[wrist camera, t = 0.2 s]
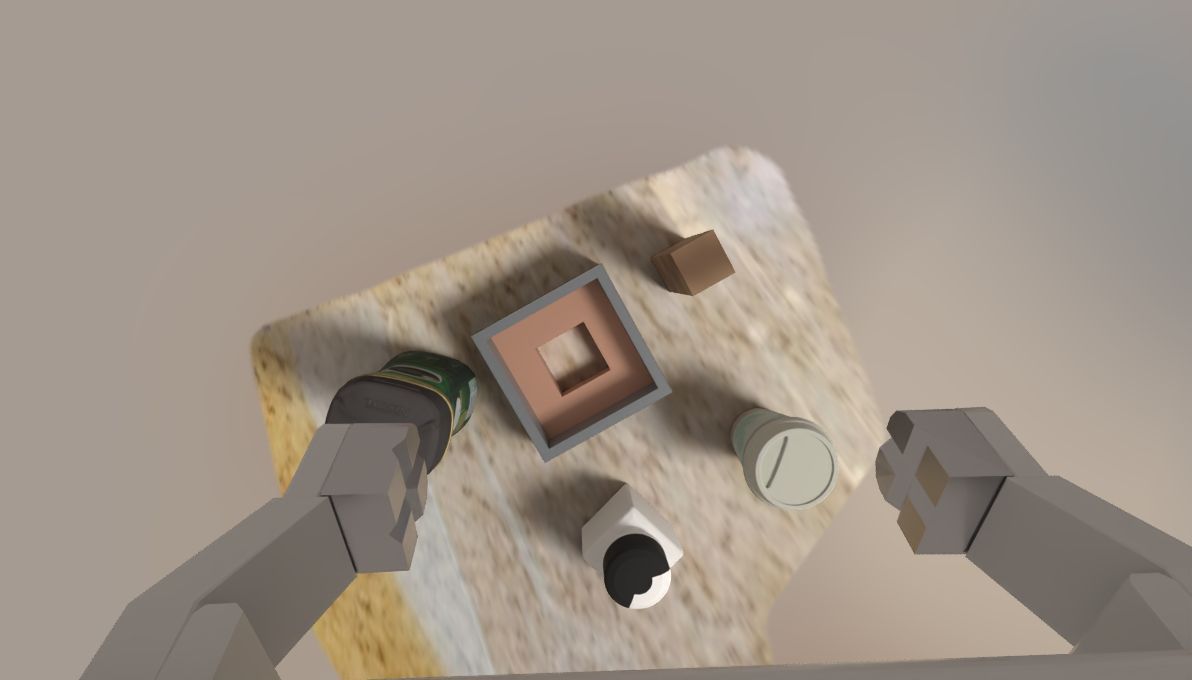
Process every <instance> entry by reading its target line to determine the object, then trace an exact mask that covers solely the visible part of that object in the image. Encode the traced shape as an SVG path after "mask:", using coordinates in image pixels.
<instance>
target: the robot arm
mask: <svg viewBox="0 0 1192 680" xmlns="http://www.w3.org/2000/svg"><path fill="white" fill-rule="evenodd" d="M887 430H888V432H889V433H890V435H891V437H892V438H891V439H889V440H888V441H887V442H886V443H884V444H883V445H882V446H881V447H880V448H879V452H878V455H877V458H876V478H877V482H878V485H879V489H880V491H881V493H882V494H883V497H884V499H885V500H886V501H887V502H888V503H890V504H891V505H892V506H894V507H895V508H897V509H898V510H900V513H899V517H898V520H897V523H898V525H899V526H900V528H901V530H902V532H903V534H904V535H905V537H906V539H907V541H908V543H909V545H910V547H911V548H912V550H913V552H914V554H966V557H967V558H968V559H969V560H970V561H971V562H973V563H974V564H975V565H976V566H978V567H979V568H980V569H981V570H982V571H984V572H985V573H986V574H987V575H988V576H989V577H991V578H992V579H993V580H994V581H996V582H997V583H998V584H999V585H1000V586H1002V587H1003V588H1004V589H1005V590H1006V591H1008V592H1009V593H1010V594H1011V595H1012V596H1014V597H1015V598H1016V599H1017V600H1018V601H1020V602H1021V603H1022V604H1023V605H1024V606H1026V607H1027V608H1028V609H1029V610H1030V611H1032V612H1033V613H1034V614H1035V615H1037V616H1038V617H1039V618H1040V619H1041V620H1043V621H1044V622H1045V623H1046V624H1047V625H1049V626H1050V627H1051V628H1052V629H1053V630H1055V631H1056V632H1057V633H1058V634H1060V635H1061V636H1062V637H1063V638H1064V639H1066V640H1067V641H1068V642H1069V643H1070V644H1072V645H1073V646H1074V648H1073V649H1072V650H1071V652H1070V653H1069V654H1060V655H1059V654H1057V655H1030V656H1004V657H977V658H948V659H922V660H895V661H866V662H838V663H812V664H785V665H758V666H732V667H705V668H678V669H650V670H621V671H593V672H564V673H536V674H508V675H479V676H451V677H424V678H397V679H369V680H1192V547H1191V546H1189V545H1187V544H1185V543H1183V542H1181V541H1179V540H1178V539H1176V538H1174V537H1172V536H1170V535H1168V534H1166V533H1164V532H1163V531H1161V530H1159V529H1157V528H1155V527H1153V526H1151V525H1149V524H1147V523H1146V522H1144V521H1142V520H1140V519H1138V518H1136V517H1135V516H1133V515H1131V514H1129V513H1127V512H1125V511H1123V510H1122V509H1120V508H1118V507H1116V506H1114V505H1112V504H1110V503H1108V502H1106V501H1105V500H1102V499H1101V498H1099V497H1097V496H1095V495H1093V494H1091V493H1090V492H1088V491H1086V490H1084V489H1082V488H1080V487H1078V486H1076V485H1075V484H1073V483H1071V482H1069V481H1067V480H1065V479H1063V478H1061V477H1060V476H1049V475H1048V474H1047V473H1046V472H1045V471H1044V470H1043V468H1042V467H1041V466H1040V465H1039V464H1038V463H1037V461H1036V460H1035V459H1034V458H1033V457H1032V456H1031V455H1030V453H1029V452H1028V451H1027V450H1026V449H1025V448H1024V446H1023V445H1022V444H1021V443H1020V442H1019V441H1018V439H1017V438H1016V437H1015V436H1014V435H1013V434H1012V432H1011V431H1010V430H1009V429H1008V428H1007V427H1006V425H1005V424H1004V423H1003V422H1002V421H1001V420H1000V418H999V417H998V416H997V415H996V414H995V413H994V412H993V411H992V410H990V409H988V408H986V407H975V408H955V409H933V410H903V411H896V412H895V413H894V414H893V415H892V416H891V417H890V420H889V423H888V425H887ZM419 443H420V437H419V434H418V430H417V426H416V425H414V424H413V423H354V424H323V425H322V426H321V427H319V428H318V429H317V430H316V432H315V434H314V436H313V438H312V440H311V442H310V444H309V447H308V449H307V451H306V453H305V455H304V457H303V459H302V461H301V463H300V465H299V467H298V469H297V471H296V473H295V475H294V477H293V479H292V481H291V483H290V485H289V487H288V489H287V491H286V493H285V495H284V497H283V498H273V499H272V500H271V501H269V502H268V503H266V504H265V505H264V506H262V507H261V508H260V509H258V510H257V511H256V512H254V513H253V514H251V515H250V516H248V517H247V518H246V519H244V520H243V521H242V522H240V523H239V524H238V525H236V526H235V527H233V528H232V529H231V530H229V531H228V532H227V533H225V534H224V535H222V536H221V537H220V538H218V539H217V540H215V541H214V542H213V543H211V544H210V545H209V546H207V547H206V548H204V549H203V550H202V551H200V552H199V553H198V554H196V555H195V556H193V557H192V558H191V559H189V560H188V561H186V562H185V563H184V564H182V565H181V566H180V567H178V568H177V569H175V570H174V571H173V572H171V573H170V574H169V575H167V576H166V577H164V578H163V579H162V580H160V581H159V582H158V583H156V584H155V585H154V586H152V587H151V588H149V589H148V590H147V591H145V592H144V593H143V594H141V595H140V596H138V597H137V598H135V599H134V600H133V601H131V602H130V603H129V604H128V605H127V606H126V608H125V610H124V611H123V613H122V614H121V616H120V617H119V619H118V620H117V622H116V623H115V625H114V627H113V628H112V630H111V631H110V633H109V634H108V636H107V637H106V639H105V641H104V642H103V644H102V645H101V647H100V648H99V650H98V651H97V653H96V654H95V656H94V658H93V659H92V661H91V662H90V664H89V665H88V667H87V668H86V670H85V671H84V673H83V675H82V676H81V678H80V679H79V680H281V679H280V677H279V675H278V674H277V672H276V670H275V667H276V666H277V665H278V664H279V662H280V661H281V660H282V659H283V658H284V657H285V656H286V655H287V653H288V652H289V651H290V650H291V649H292V648H293V647H294V646H295V645H296V644H297V642H298V641H299V640H300V639H301V638H302V637H303V636H304V634H306V632H307V631H308V630H309V629H310V628H311V627H312V626H313V625H314V624H315V622H316V621H317V620H318V619H319V618H320V617H321V616H322V615H323V613H324V612H325V611H326V610H327V609H328V608H329V607H330V606H331V605H332V603H333V602H334V601H335V600H336V599H337V598H338V597H339V596H340V595H341V593H342V592H343V591H344V590H345V589H346V588H347V587H348V586H349V585H350V583H351V582H352V581H353V580H354V579H355V578H356V574H357V573H374V572H391V571H408V570H410V566H411V562H412V558H413V554H414V550H415V546H416V542H417V538H418V535H417V531H416V526H415V522H416V521H417V520H418V519H419V518H420V517H421V516H422V515H423V513H424V509H425V504H426V499H427V486H428V481H427V469H426V464H425V460H424V459H423V458H422V457H421V456H420V455H418V454H417V451H418V447H419Z"/></svg>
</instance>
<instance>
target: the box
mask: <svg viewBox="0 0 1192 680" xmlns="http://www.w3.org/2000/svg"><path fill="white" fill-rule="evenodd" d="M582 322H584V323H585V325H586V327H587V329H588V330H589V332H590V334H591V336H592V337H593V339H594V341H595V343H596V345H597V346H598V348H599V350H600V352H601V354H602V355H603V357H604V359H605V361H606V362H607V364H608V366H609V367H607V368H606V369H604V370H602V371H600V372H598V373H597V374H595V375H593V376H591V377H589V378H588V379H586V380H584V381H582V382H580V383H579V384H577V385H575V386H573V387H571V388H570V389H568V390H566V391H564V392H562V390H561V389H560V387H559V385H558V383H557V382H556V380H555V378H554V376H553V375H552V373H551V371H550V369H549V368H548V366H547V364H546V362H545V361H544V359H543V357H542V356H541V354H540V352H539V350H538V349H537V347H539V346H541V345H543V344H544V343H546V342H548V341H550V340H552V339H553V338H555V337H557V336H559V335H561V334H562V333H564V332H566V331H568V330H569V329H571V328H573V327H575V326H577V325H578V324H580V323H582ZM471 337H472V339H473V341H474V343H475V344H476V346H477V348H478V349H479V351H480V353H481V355H482V356H483V358H484V360H485V361H486V363H487V365H488V366H489V368H490V370H491V372H492V373H493V375H494V377H495V378H496V380H497V382H498V384H499V385H500V387H501V389H502V390H503V392H504V394H505V396H506V397H507V399H508V401H509V402H510V404H511V406H512V407H513V409H514V411H515V413H516V414H517V416H518V418H519V419H520V421H521V423H522V425H523V426H524V428H525V430H526V431H527V433H528V435H529V436H530V438H531V440H532V442H533V443H534V445H535V447H536V448H537V450H538V452H539V454H540V455H541V457H542V459H543V460H544V462H545V463H546V462H548V461H549V460H551V459H553V458H555V457H557V456H558V455H560V454H562V453H564V452H566V451H567V450H569V449H571V448H573V447H575V446H576V445H578V444H580V443H582V442H584V441H585V440H587V439H589V438H591V437H593V436H594V435H596V434H598V433H600V432H602V431H603V430H605V429H607V428H609V427H611V426H612V425H614V424H616V423H618V422H620V421H621V420H623V419H625V418H627V417H629V416H630V415H632V414H634V413H636V412H638V411H640V410H641V409H643V408H645V407H647V406H649V405H650V404H652V403H654V402H656V401H658V400H659V399H661V398H663V397H665V396H667V395H668V394H670V393H672V390H671V388H670V387H669V385H668V383H667V381H666V379H665V378H664V376H663V374H662V372H661V370H660V368H659V367H658V365H657V363H656V361H655V359H654V358H653V356H652V354H651V352H650V350H649V348H648V347H647V345H646V343H645V341H644V339H643V338H642V336H641V334H640V332H639V330H638V329H637V327H636V325H635V323H634V321H633V319H632V318H631V316H630V314H629V312H628V310H627V309H626V307H625V305H624V303H623V301H622V299H621V298H620V296H619V294H618V292H617V290H616V289H615V287H614V285H613V283H612V281H611V280H610V278H609V276H608V274H607V272H606V270H605V269H604V267H603V265H602V263H601V264H598V265H597V266H595V267H593V268H591V269H590V270H588V271H586V272H584V273H582V274H581V275H579V276H577V277H575V278H573V279H572V280H570V281H568V282H566V283H565V284H563V285H561V286H559V287H557V288H556V289H554V290H552V291H550V292H548V293H547V294H545V295H543V296H541V297H540V298H538V299H536V300H534V301H532V302H531V303H529V304H527V305H525V306H523V307H522V308H520V309H518V310H516V311H515V312H513V313H511V314H509V315H507V316H506V317H504V318H502V319H500V320H499V321H497V322H495V323H493V324H491V325H490V326H488V327H486V328H484V329H482V330H481V331H479V332H477V333H476V334H474V335H473V336H471Z"/></svg>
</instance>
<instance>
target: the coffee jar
mask: <svg viewBox="0 0 1192 680" xmlns="http://www.w3.org/2000/svg"><path fill="white" fill-rule="evenodd" d="M477 388H478V385H477V379H476V376H475V374H474V373H473V371H472V370H471V369H470V368H469V367H468V366H466V365H465V364H463V363H460V362H458V361H455V360H452V359H449V358H446V357H443V356H438V355H434V354H430V353H424V352H415V351H409V352H404V353H401V354H399V355H397V356H395V357H394V358H393V359H391V360H390V361H389V362H388V363H387V364H386V365H385V366H384V367H383V368H382V369H381V370H380V371H378V372H376V373H371V374H365V375H361V376H358V377H355V378H353V379H351V380H350V381H348V382H347V383H346V384H345V385H344V386H343V387H341V388H340V389H339V390H338V392H337V393H336V395H335V396H334V398H333V400H332V402H331V404H330V407H329V410H328V413H327V417H326V421H325V424H354V423H413V424H414V425H416V426H417V430H418V434H419V437H420V443H419V447H418V451H417V454H418V455H420V456H421V457H422V458H423V459H424V460H425V464H426V469H427V475H428V474H429V473H430V472H431V471H432V470H433V469H434V468H435V467H437V466H438V465H439V464H440V462H441V461H442V459H443V457H444V455H445V453H446V451H447V449H448V447H449V444H450V441H451V437H452V436H453V435H454V434H456V433H457V432H458V431H460V430H461V429H462V428H463V427H464V426H465V424H466V423H467V422H468V420H469V419H470V417H471V414H472V412H473V409H474V406H475V402H476V397H477Z"/></svg>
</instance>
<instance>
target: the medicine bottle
mask: <svg viewBox="0 0 1192 680" xmlns="http://www.w3.org/2000/svg"><path fill="white" fill-rule="evenodd" d="M582 555H583V559H584V560H585V561H586V562H587V563H588V564H589V565H591V566H592V567H593V568H594V569H595V570H596V571H597V572H598V573H599V574H600V575H602V576H603V577H604V582H605V587H606V589H607V592H608V593H609V595H610V596H611V598H612V599H613V600H614V601H615V602H617V603H618V604H620V605H622V606H624V607H627V608H631V609H643V608H647V607H650V606H652V605H654V604H656V603H657V602H658V601H660V600H661V599H662V598H663V597H664V595H665V594H666V592H667V591H668V588H669V586H670V582H671V571H670V568H671V567H672V566H673V565H674V564H675V563H676V562H677V561H678V560H679V559H680V558H681V557H682V555H683V551H682V549H681V546H680V543H679V541H678V538H677V536H676V533H675V531H674V528H673V526H672V524H671V523H670V522H669V521H668V520H666V519H665V518H664V517H663V516H662V515H661V514H660V513H659V512H658V511H657V510H656V509H655V508H654V507H653V506H651V505H650V504H649V503H648V502H647V501H646V500H645V499H644V498H643V497H642V496H641V495H640V494H639V493H637V492H636V491H635V490H634V489H633V488H632V487H631V486H630V485H629V484H625V485H623V486H622V488H621V489H620V490H619V491H618V492H617V493H616V494H615V495H614V496H613V497H612V498H611V499H610V500H609V501H608V502H607V503H606V504H605V505H604V506H603V507H602V508H601V509H600V510H599V511H598V512H597V513H596V514H595V515H594V516H593V517H592V518H591V519H590V520H589V521H588V522H587V523H586V524H585V525H584V526H583V527H582Z"/></svg>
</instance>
